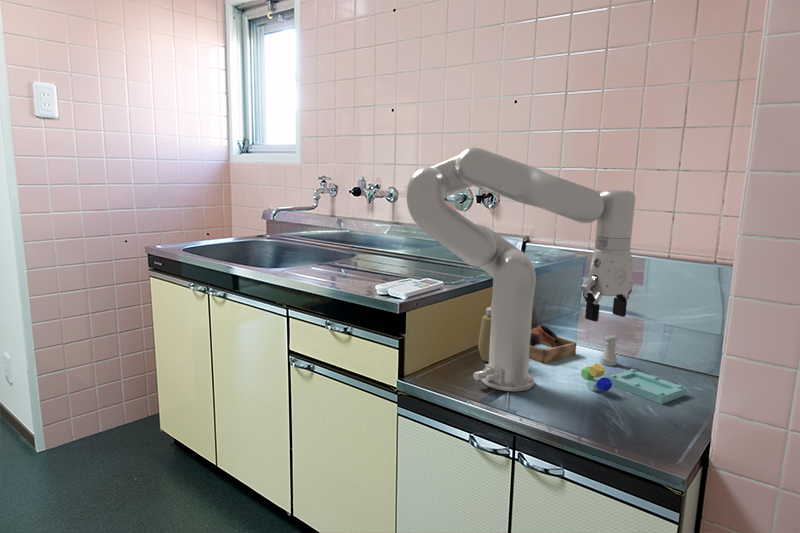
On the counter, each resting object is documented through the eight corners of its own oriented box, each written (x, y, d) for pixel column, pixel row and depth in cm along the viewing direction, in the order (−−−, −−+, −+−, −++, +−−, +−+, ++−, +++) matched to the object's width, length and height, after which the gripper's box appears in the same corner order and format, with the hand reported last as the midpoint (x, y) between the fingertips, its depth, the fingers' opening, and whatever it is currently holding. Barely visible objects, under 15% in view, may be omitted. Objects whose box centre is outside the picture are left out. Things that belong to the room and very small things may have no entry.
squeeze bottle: (507, 366, 142) (511, 299, 139) (476, 363, 144) (480, 298, 141) (506, 356, 150) (510, 293, 147) (477, 354, 151) (480, 291, 148)
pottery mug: (528, 344, 163) (544, 323, 161) (551, 365, 158) (567, 343, 155) (508, 342, 154) (525, 320, 152) (532, 364, 149) (549, 341, 146)
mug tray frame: (542, 363, 145) (543, 351, 144) (500, 347, 158) (501, 335, 158) (576, 355, 153) (577, 343, 152) (534, 340, 166) (534, 329, 165)
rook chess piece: (618, 367, 144) (621, 338, 142) (601, 365, 145) (603, 336, 143) (615, 361, 148) (618, 333, 147) (598, 360, 149) (601, 332, 148)
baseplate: (661, 404, 120) (662, 394, 120) (607, 383, 132) (608, 374, 131) (685, 395, 126) (686, 386, 125) (631, 376, 137) (632, 367, 137)
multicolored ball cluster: (612, 395, 125) (614, 369, 124) (603, 397, 124) (606, 370, 123) (586, 383, 132) (589, 358, 131) (578, 384, 131) (580, 359, 130)
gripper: (601, 248, 114) (594, 326, 117) (650, 245, 124) (642, 317, 126) (573, 244, 121) (567, 318, 124) (622, 241, 130) (615, 310, 133)
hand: (605, 317), depth 125 cm, fingers open, 9 cm apart
